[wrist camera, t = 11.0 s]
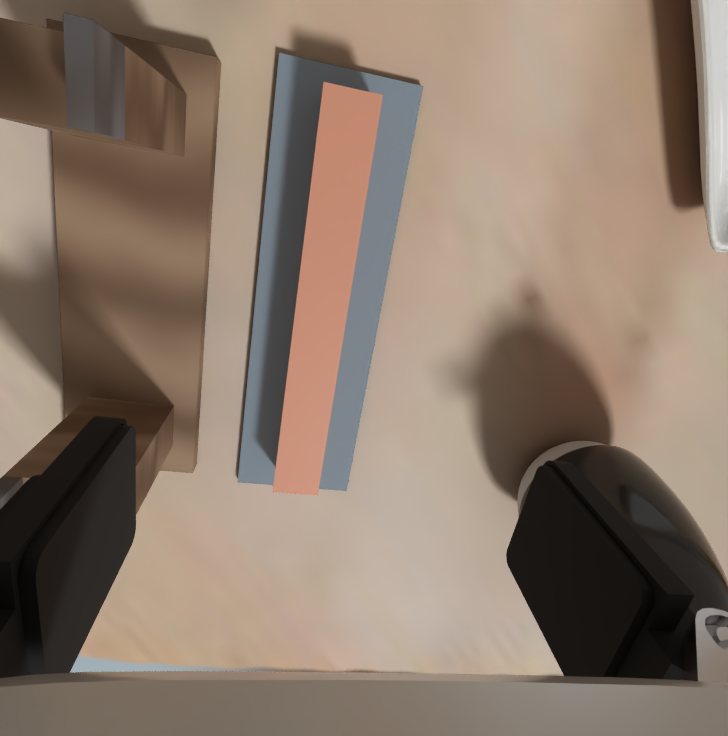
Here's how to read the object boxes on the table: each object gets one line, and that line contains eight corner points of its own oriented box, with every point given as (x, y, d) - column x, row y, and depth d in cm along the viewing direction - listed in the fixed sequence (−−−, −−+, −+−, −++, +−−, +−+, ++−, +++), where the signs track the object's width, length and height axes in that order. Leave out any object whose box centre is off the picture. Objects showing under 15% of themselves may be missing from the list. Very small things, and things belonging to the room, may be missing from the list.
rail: (321, 93, 26) (323, 81, 23) (375, 105, 26) (383, 94, 23) (275, 466, 34) (272, 491, 31) (316, 470, 34) (317, 495, 31)
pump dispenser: (478, 458, 36) (589, 632, 22) (603, 398, 35) (801, 538, 21) (520, 548, 40) (638, 746, 25) (633, 496, 39) (819, 669, 25)
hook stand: (58, 26, 24) (-187, -137, 12) (220, 63, 25) (144, -52, 13) (75, 453, 32) (-59, 605, 20) (196, 463, 33) (136, 611, 21)
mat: (279, 54, 25) (279, 52, 25) (421, 87, 26) (423, 85, 26) (238, 478, 34) (237, 482, 34) (345, 487, 35) (346, 490, 35)
